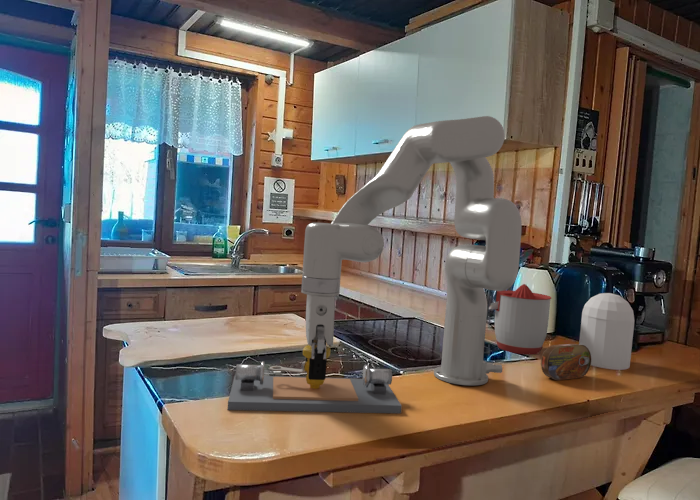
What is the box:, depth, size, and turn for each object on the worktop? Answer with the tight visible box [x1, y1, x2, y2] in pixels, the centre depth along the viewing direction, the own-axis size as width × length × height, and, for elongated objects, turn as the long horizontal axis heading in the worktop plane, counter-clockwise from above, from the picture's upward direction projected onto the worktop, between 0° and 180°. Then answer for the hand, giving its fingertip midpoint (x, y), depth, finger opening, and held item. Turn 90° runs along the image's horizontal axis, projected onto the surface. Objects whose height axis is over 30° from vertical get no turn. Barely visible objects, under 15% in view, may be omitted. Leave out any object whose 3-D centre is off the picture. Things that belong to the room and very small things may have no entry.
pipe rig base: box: [227, 374, 402, 414], centre depth 108 cm, size 32×16×2 cm, turn 98°
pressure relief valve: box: [268, 344, 331, 389], centre depth 108 cm, size 6×12×10 cm, turn 80°
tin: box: [540, 343, 592, 381], centre depth 135 cm, size 15×3×8 cm, turn 116°
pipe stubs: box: [235, 361, 393, 394], centre depth 107 cm, size 31×4×5 cm, turn 98°
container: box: [578, 292, 635, 371], centre depth 152 cm, size 14×13×20 cm
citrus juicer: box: [488, 283, 553, 356], centre depth 160 cm, size 16×17×20 cm
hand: (315, 371), depth 107 cm, fingers open, 9 cm apart
